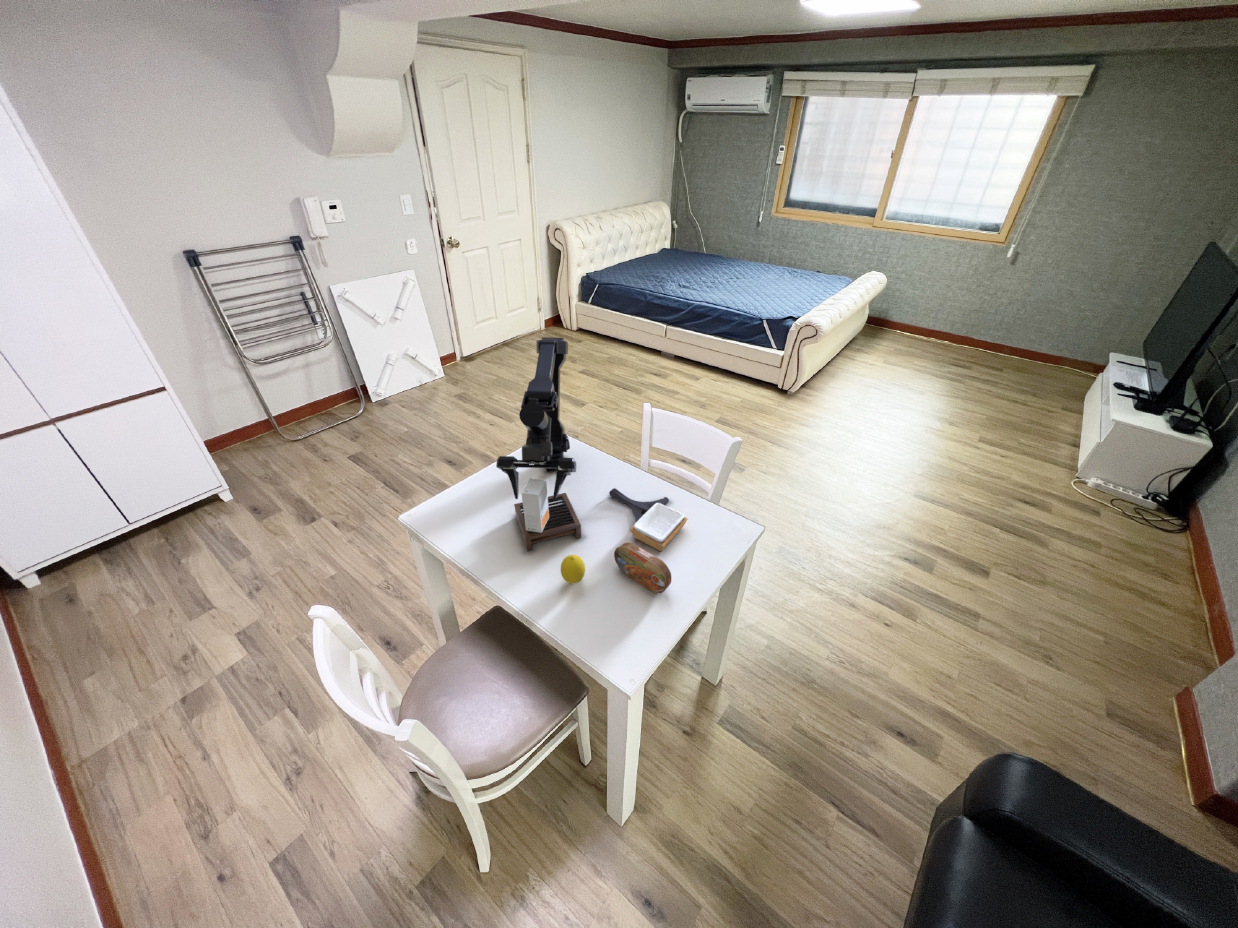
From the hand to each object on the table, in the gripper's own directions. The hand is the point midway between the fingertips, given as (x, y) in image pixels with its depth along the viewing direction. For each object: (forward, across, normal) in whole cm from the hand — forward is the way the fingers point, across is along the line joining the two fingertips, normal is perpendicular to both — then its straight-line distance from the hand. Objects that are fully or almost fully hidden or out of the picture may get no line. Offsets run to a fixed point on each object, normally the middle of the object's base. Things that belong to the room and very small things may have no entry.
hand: (535, 499), depth 118 cm
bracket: (0, +24, +17) cm, 29 cm away
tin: (+18, +26, -1) cm, 32 cm away
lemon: (+19, +10, -2) cm, 22 cm away
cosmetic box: (+6, 0, +5) cm, 8 cm away
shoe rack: (+6, +2, +11) cm, 12 cm away
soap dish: (+8, +30, +10) cm, 33 cm away
